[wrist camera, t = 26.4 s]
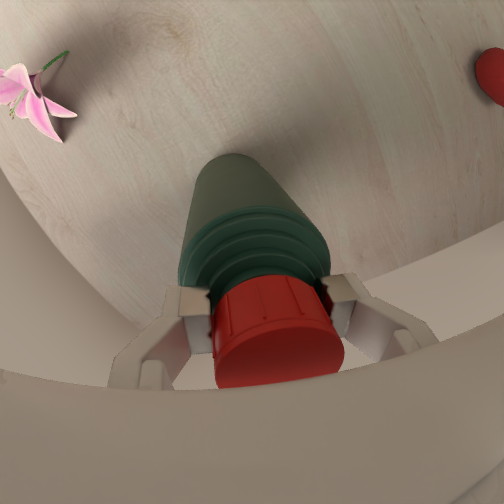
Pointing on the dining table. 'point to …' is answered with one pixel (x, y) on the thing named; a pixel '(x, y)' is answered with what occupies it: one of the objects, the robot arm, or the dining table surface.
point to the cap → (272, 334)
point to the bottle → (246, 230)
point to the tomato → (492, 74)
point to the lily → (30, 97)
